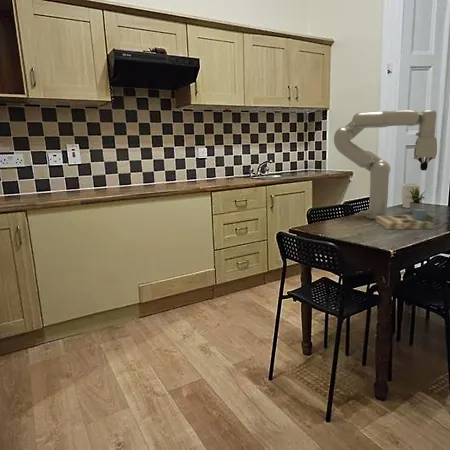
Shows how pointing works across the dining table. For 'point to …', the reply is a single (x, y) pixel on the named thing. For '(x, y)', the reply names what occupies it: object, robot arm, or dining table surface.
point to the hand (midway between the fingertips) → (423, 170)
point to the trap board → (405, 222)
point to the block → (419, 214)
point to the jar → (408, 194)
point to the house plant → (415, 200)
